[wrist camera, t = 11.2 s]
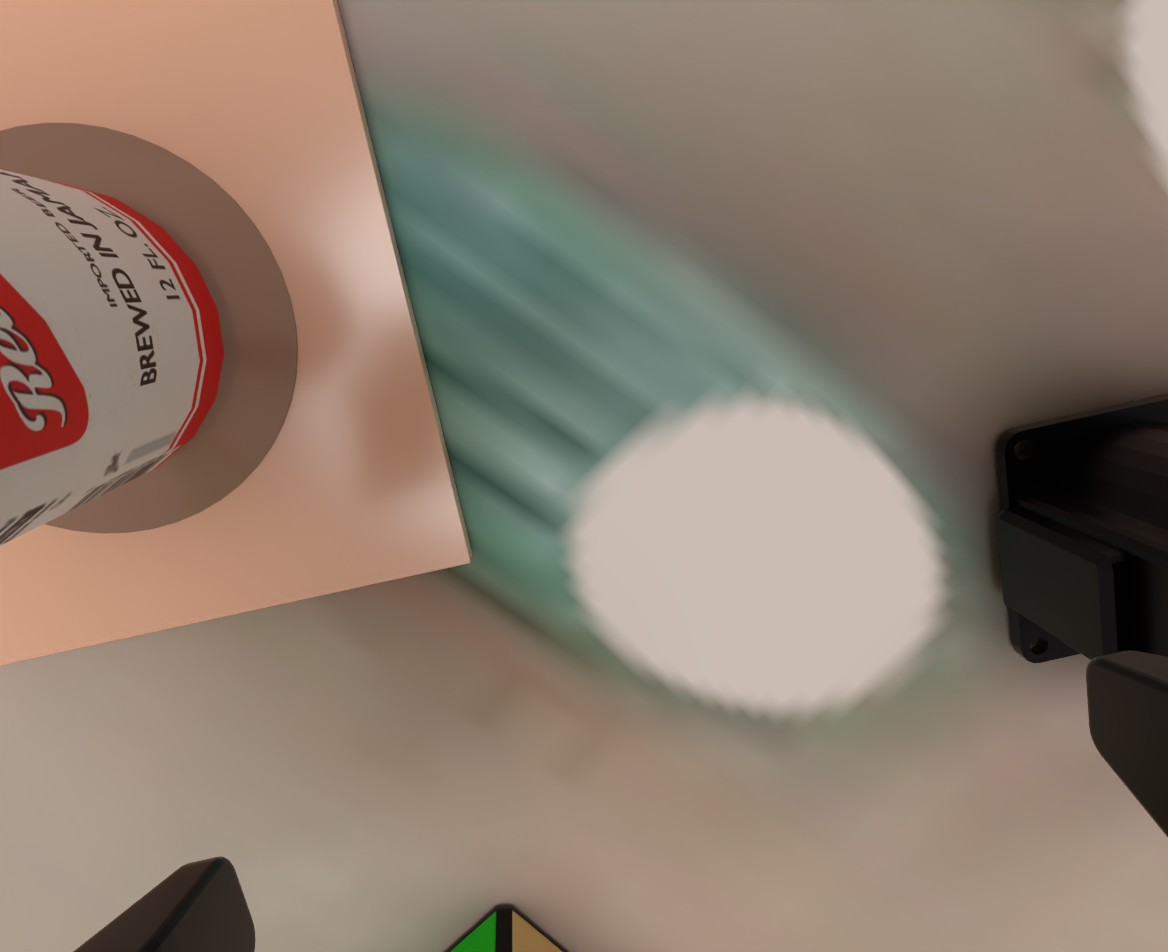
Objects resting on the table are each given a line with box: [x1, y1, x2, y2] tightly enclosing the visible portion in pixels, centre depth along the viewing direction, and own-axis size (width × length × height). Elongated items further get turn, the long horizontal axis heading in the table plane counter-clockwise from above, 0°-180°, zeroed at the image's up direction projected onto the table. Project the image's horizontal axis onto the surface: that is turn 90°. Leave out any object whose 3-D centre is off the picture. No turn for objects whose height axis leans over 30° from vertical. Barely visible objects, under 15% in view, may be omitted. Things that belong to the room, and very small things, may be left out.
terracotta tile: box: [0, 0, 472, 665], centre depth 19 cm, size 14×14×1 cm
